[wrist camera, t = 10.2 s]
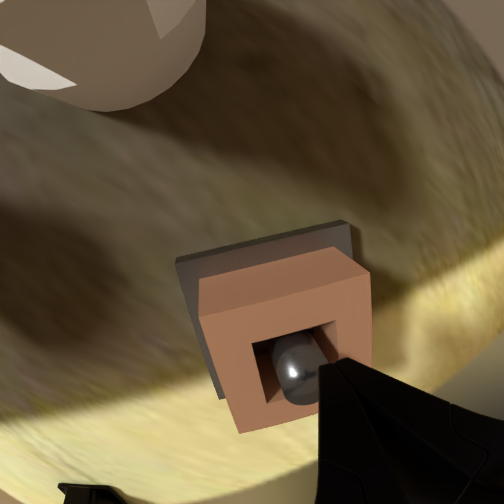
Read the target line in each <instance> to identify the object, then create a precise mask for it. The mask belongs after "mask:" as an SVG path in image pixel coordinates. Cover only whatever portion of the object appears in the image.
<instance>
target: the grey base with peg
mask: <svg viewBox="0 0 504 504" xmlns="http://www.w3.org/2000/svg"><path fill="white" fill-rule="evenodd" d="M333 246H334V247H335V248H337V249H338V250H339V251H341V252H342V253H344V254H345V255H346V256H348V257H349V258H351V259H352V260H353V254H352V244H351V234H350V225H349V223H348V222H345V221H343V220H338V221H333V222H329V223H324V224H320V225H316V226H311V227H307V228H302V229H298V230H293V231H289V232H285V233H280V234H276V235H272V236H267V237H263V238H258V239H254V240H250V241H245V242H241V243H237V244H233V245H228V246H224V247H220V248H215V249H211V250H207V251H203V252H198V253H194V254H190V255H186V256H181V257H177V258H176V260H175V267H176V270H177V274H178V277H179V281H180V284H181V288H182V291H183V294H184V297H185V301H186V304H187V307H188V310H189V314H190V317H191V320H192V323H193V326H194V329H195V332H196V335H197V338H198V341H199V344H200V347H201V350H202V353H203V356H204V359H205V362H206V365H207V368H208V370H209V373H210V376H211V379H212V382H213V384H214V387H215V390H216V393H217V395H218V398H219V399H224V398H226V397H225V394H224V392H223V389H222V386H221V383H220V380H219V378H218V375H217V372H216V369H215V366H214V363H213V360H212V357H211V354H210V351H209V348H208V345H207V342H206V339H205V336H204V333H203V330H202V327H201V324H200V320H199V317H198V316H199V279H202V278H206V277H210V276H215V275H219V274H223V273H227V272H231V271H236V270H240V269H244V268H248V267H252V266H256V265H260V264H265V263H269V262H273V261H277V260H281V259H285V258H289V257H293V256H297V255H301V254H305V253H309V252H313V251H317V250H321V249H325V248H329V247H333ZM251 344H252V348H253V352H254V356H259V355H263V354H267V353H269V354H270V357H271V360H272V363H273V366H274V369H275V371H276V374H277V377H278V380H279V383H280V386H281V388H282V391H283V394H284V397H285V398H286V400H287V401H289V402H290V403H292V404H295V405H302V406H303V405H310V404H314V403H316V402H318V366H319V365H322V364H326V363H329V362H328V361H327V359H326V357H325V356H324V354H323V352H322V351H321V349H320V348H319V346H318V344H317V343H316V341H315V338H314V330H313V327H310V328H307V329H303V330H300V331H296V332H293V333H289V334H285V335H282V336H278V337H274V338H270V339H266V340H262V341H258V342H254V343H251Z"/></svg>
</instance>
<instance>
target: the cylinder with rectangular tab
mask: <svg viewBox="0 0 504 504" xmlns="http://www.w3.org/2000/svg"><path fill="white" fill-rule="evenodd" d="M205 21H206V0H0V73H1V74H2V75H3V76H4V77H5V78H6V79H7V80H8V81H10V82H12V83H15V84H18V85H20V86H23V87H25V88H28V89H31V90H33V91H36V92H39V93H42V94H45V95H48V96H50V97H53V98H56V99H58V100H61V101H64V102H67V103H69V104H72V105H74V106H77V107H80V108H82V109H85V110H92V111H101V112H110V111H117V110H124V109H129V108H132V107H134V106H137V105H139V104H142V103H145V102H147V101H150V100H152V99H153V98H155V97H156V96H158V95H159V94H161V93H162V92H164V91H165V90H167V89H169V88H170V87H171V86H172V85H173V84H174V83H175V82H176V81H177V80H178V79H179V78H180V77H181V76H182V75H183V74H184V73H185V72H187V70H188V69H189V67H190V66H191V64H192V62H193V61H194V59H195V58H196V56H197V55H198V53H199V51H200V47H201V44H202V41H203V38H204V35H205Z"/></svg>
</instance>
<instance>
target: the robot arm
mask: <svg viewBox="0 0 504 504" xmlns="http://www.w3.org/2000/svg"><path fill="white" fill-rule="evenodd" d="M58 489H60V490H61V491H62V492H63V493H64V494H65V499H64V503H63V504H127V503H126V502H125V501H124V500H123V499H122V498H121V497H120V496H119V495H118V494H117V493H116V492H115V491H114V490H113V489H112V488H110V487H108V486H90V485H74V484H62V483H59V484H58ZM314 504H504V420H499V419H496V418H492V417H489V416H485V415H482V414H479V413H476V412H474V411H471V410H468V409H466V408H463V407H460V406H458V405H456V404H451V405H450V402H448V401H446V400H443V399H441V398H438V397H436V396H434V395H431V394H429V393H427V392H424V391H422V390H420V389H417V388H415V387H413V386H411V385H408V384H406V383H404V382H402V381H399V380H397V379H395V378H393V377H390V376H388V375H386V374H384V373H382V372H379V371H377V370H375V369H373V368H371V367H368V366H366V365H364V364H362V363H360V362H358V361H356V360H354V359H351V358H349V357H344V358H341V359H338V360H335V361H334V362H333V363H332V362H329V363H326V364H322V365H319V366H318V476H317V488H316V496H315V502H314Z"/></svg>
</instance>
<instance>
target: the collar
mask: <svg viewBox="0 0 504 504" xmlns="http://www.w3.org/2000/svg"><path fill="white" fill-rule="evenodd" d="M198 317H199V320H200V324H201V327H202V330H203V333H204V336H205V339H206V342H207V345H208V348H209V351H210V354H211V357H212V360H213V363H214V366H215V369H216V372H217V375H218V378H219V380H220V383H221V386H222V389H223V392H224V394H225V397H226V400H227V403H228V405H229V408H230V411H231V414H232V416H233V419H234V422H235V424H236V427H237V429H238V432H239V434H241V433H245V432H250V431H254V430H258V429H263V428H267V427H271V426H275V425H279V424H282V423H286V422H290V421H293V420H297V419H300V418H304V417H307V416H310V415H314V414H317V413H318V402H316V403H314V404H310V405H303V406H302V405H295V404H292V403H290V402H289V401H287V400H286V398H285V397H284V394H283V391H282V388H281V386H280V383H279V380H278V377H277V374H276V371H275V369H274V366H273V363H272V360H271V357H270V354H269V353H267V354H263V355H259V356H254V352H253V348H252V344H251V343H254V342H258V341H262V340H266V339H270V338H274V337H278V336H282V335H285V334H289V333H293V332H296V331H300V330H303V329H307V328H310V327H313V330H314V338H315V341H316V343H317V344H318V346H319V348H320V349H321V351H322V352H323V354H324V356H325V357H326V359H327V361H328V362H332V363H333V362H334V361H335V360H338V359H341V358H344V357H349V358H351V359H354V360H356V361H358V362H360V363H362V364H364V365H366V366H368V367H371V368H372V307H371V284H370V272H368V271H367V270H366V269H364V268H363V267H362V266H360V265H359V264H357V263H356V262H355V261H353V260H352V259H351V258H349V257H348V256H346V255H345V254H344V253H342V252H341V251H339V250H338V249H337V248H335V247H334V246H333V247H329V248H325V249H321V250H317V251H313V252H309V253H305V254H301V255H297V256H293V257H289V258H285V259H281V260H277V261H273V262H269V263H265V264H260V265H256V266H252V267H248V268H244V269H240V270H236V271H231V272H227V273H223V274H219V275H215V276H210V277H206V278H202V279H199V316H198Z"/></svg>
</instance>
